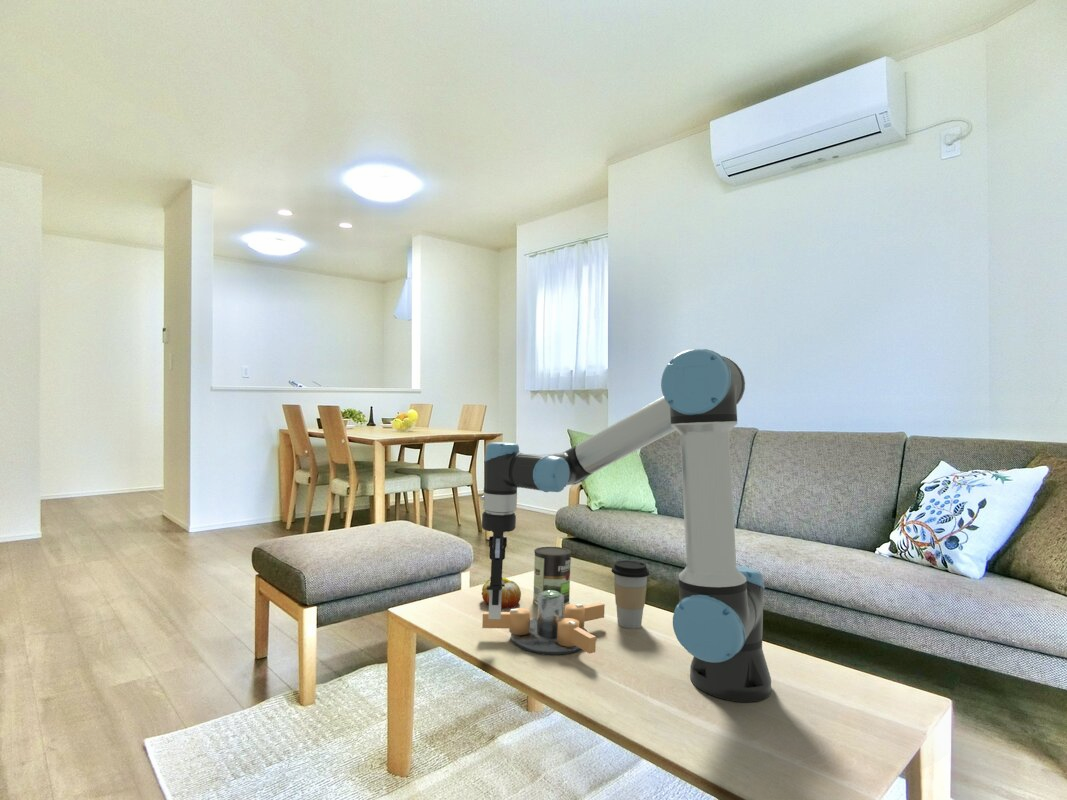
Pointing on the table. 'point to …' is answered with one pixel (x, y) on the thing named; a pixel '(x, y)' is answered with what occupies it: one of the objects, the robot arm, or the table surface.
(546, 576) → the coffee can
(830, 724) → the table surface
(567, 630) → the knob
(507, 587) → the fruit
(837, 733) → the table surface
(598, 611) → the knob
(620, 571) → the coffee cup
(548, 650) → the base
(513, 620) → the knob
